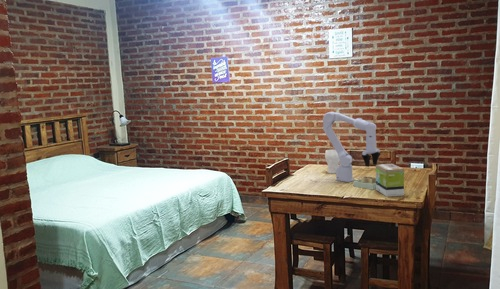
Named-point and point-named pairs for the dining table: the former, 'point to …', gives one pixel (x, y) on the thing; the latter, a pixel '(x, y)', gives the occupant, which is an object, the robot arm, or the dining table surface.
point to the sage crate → (364, 185)
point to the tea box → (390, 180)
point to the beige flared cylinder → (332, 160)
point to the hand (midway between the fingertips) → (371, 165)
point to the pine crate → (368, 180)
